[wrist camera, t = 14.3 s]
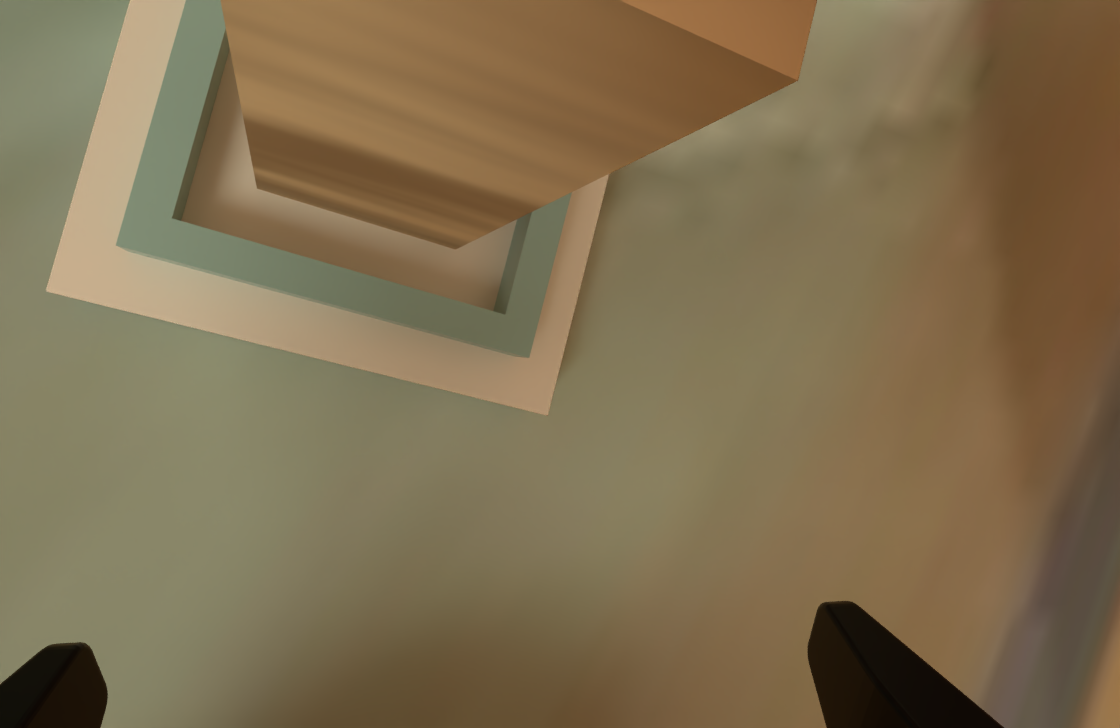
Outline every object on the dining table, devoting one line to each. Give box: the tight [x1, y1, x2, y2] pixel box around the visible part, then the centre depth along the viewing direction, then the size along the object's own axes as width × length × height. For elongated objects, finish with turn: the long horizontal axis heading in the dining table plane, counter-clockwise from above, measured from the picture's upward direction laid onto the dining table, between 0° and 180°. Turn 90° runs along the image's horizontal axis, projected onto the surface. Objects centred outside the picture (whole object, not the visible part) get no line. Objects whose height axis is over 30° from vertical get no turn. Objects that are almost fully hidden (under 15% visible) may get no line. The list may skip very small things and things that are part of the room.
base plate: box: [46, 0, 609, 416], centre depth 18 cm, size 11×11×3 cm
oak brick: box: [220, 0, 817, 250], centre depth 12 cm, size 4×4×13 cm
